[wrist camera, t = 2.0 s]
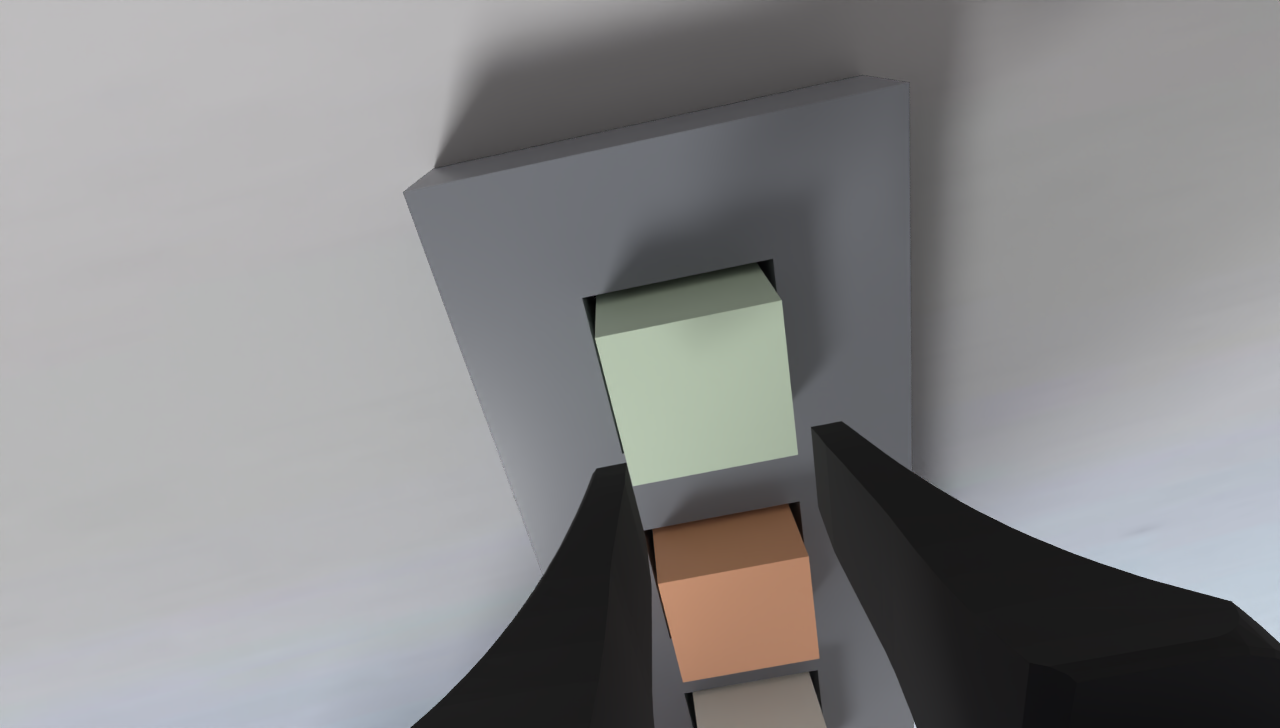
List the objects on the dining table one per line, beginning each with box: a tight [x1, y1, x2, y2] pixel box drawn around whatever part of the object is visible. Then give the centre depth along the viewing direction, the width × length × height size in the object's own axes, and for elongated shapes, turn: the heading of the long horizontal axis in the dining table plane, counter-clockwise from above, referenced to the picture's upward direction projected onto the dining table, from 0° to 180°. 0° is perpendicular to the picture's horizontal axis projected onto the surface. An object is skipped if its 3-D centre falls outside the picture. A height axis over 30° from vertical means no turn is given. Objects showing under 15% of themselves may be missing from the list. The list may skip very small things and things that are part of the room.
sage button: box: [595, 262, 798, 486], centre depth 17 cm, size 4×4×3 cm
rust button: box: [653, 504, 819, 682], centre depth 21 cm, size 4×4×3 cm
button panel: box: [403, 75, 914, 728], centre depth 23 cm, size 28×12×3 cm, turn 11°
